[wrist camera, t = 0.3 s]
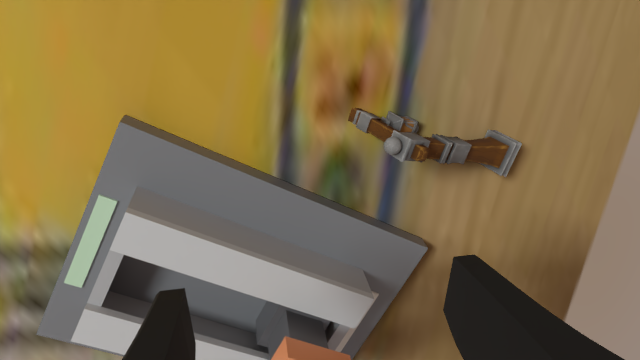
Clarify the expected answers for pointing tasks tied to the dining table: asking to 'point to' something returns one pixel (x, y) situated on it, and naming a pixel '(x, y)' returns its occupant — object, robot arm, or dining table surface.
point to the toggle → (294, 334)
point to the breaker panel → (243, 206)
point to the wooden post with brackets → (436, 142)
